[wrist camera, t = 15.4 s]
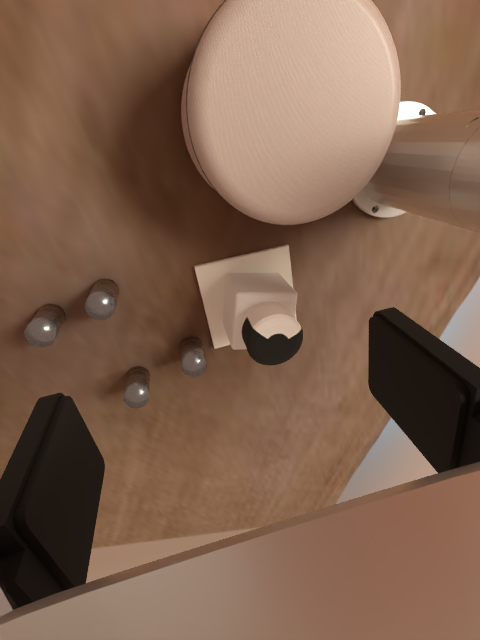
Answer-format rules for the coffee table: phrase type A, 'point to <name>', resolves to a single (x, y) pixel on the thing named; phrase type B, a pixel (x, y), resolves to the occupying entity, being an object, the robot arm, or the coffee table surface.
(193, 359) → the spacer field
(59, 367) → the coffee table surface
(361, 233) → the coffee table surface
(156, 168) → the coffee table surface
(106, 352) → the coffee table surface
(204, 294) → the pad
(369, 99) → the container
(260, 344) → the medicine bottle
